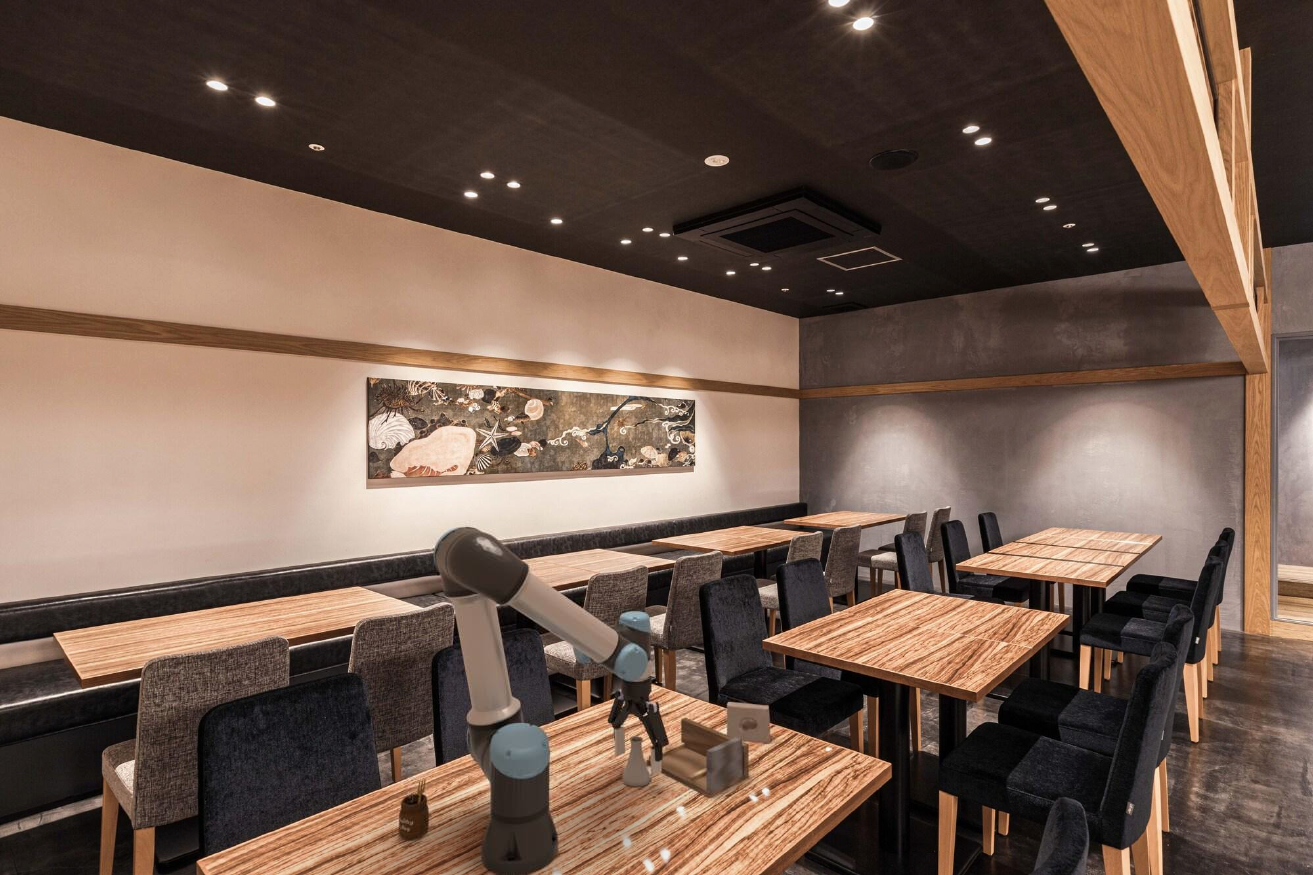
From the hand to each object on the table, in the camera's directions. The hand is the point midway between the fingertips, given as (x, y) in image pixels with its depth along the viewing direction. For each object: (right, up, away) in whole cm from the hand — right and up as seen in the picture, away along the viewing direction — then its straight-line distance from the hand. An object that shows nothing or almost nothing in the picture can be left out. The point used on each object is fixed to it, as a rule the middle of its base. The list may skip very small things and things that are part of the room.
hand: (637, 763), depth 160 cm
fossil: (+30, -5, +22) cm, 38 cm away
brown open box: (+15, -4, +4) cm, 16 cm away
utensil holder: (-47, -4, -22) cm, 52 cm away
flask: (0, -4, 0) cm, 4 cm away
